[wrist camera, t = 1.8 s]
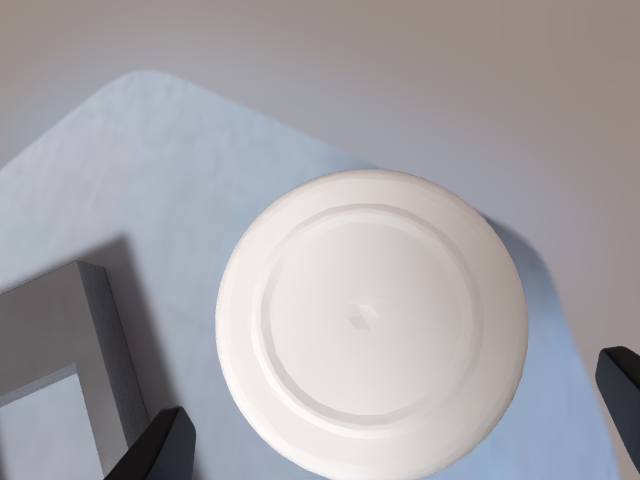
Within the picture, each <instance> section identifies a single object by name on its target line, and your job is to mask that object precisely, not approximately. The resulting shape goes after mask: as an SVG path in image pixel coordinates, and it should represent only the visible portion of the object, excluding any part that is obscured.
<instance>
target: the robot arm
mask: <svg viewBox="0 0 640 480" xmlns="http://www.w3.org/2000/svg"><path fill="white" fill-rule="evenodd" d="M595 378H596V383H597V386H598V388H599V391H600V393H601V395H602V397H603V399H604V402H605V404H606V406H607V408H608V410H609V413H610V414H611V417H612V419H613V421H614V423H615V426H616V428H617V430H618V432H619V434H620V437H621V439H622V441H623V443H624V445H625V447H626V449H627V452H628V453H629V455H630V458H631V460H632V461H633V463H634V465H635V467H636V469H637V470H638V472H639V474H640V356H639V355H638V354H636V353H635V352H633V351H631V350H630V349H628V348H626V347H623V346H617V347H610V348H604V349H602V350H601V351H600V354H599V359H598V363H597V368H596V373H595ZM195 442H196V431H195V427H194V425H193V423H192V421H191V420H190V418H189V416H188V415H187V413H186V411H185V409H184V408H183V407H181V406H172V407H166V408H164V409H162V410H161V411H160V412H159V413H158V415H157V416H156V417H155V418H154V419H153V421H152V422H151V423H150V424H149V425H148V427H147V428H146V429H145V430H144V431H143V433H142V434H141V435H140V436H139V437H138V439H137V440H136V441H135V442H134V443H133V445H132V446H131V447H130V448H129V449H128V451H127V452H126V453H125V454H124V455H123V457H122V458H121V459H120V460H119V461H118V463H117V464H116V465H115V466H114V467H113V469H112V470H111V471H110V472H109V473H108V475H107V476H106V477H105V478H104V479H103V480H192V472H193V462H194V452H195Z"/></svg>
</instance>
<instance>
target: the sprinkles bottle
mask: <svg viewBox="0 0 640 480" xmlns="http://www.w3.org/2000/svg"><path fill="white" fill-rule="evenodd" d="M215 317H216V343H217V351H218V356H219V360H220V364H221V367H222V371H223V375H224V378H225V380H226V383H227V385H228V388H229V390H230V392H231V395H232V397H233V399H234V401H235V403H236V404H237V406H238V407H239V409H240V411H241V412H242V414H243V415H244V417H245V418H246V419H247V421H248V422H249V423H250V424H251V426H252V427H253V428H254V429H255V430H256V432H257V433H258V434H259V435H260V436H261V437H262V438H263V439H264V440H265V441H266V442H267V443H268V444H269V445H270V446H271V447H272V448H273V449H275V450H276V451H277V452H279V453H280V454H281V455H283V456H284V457H286V458H287V459H289V460H291V461H292V462H294V463H296V464H297V465H299V466H301V467H302V468H304V469H306V470H309V471H311V472H314V473H316V474H319V475H321V476H324V477H327V478H330V479H332V480H417V479H420V478H423V477H425V476H428V475H430V474H433V473H435V472H437V471H440V470H442V469H444V468H447V467H448V466H450V465H452V464H453V463H455V462H457V461H458V460H460V459H462V458H463V457H465V456H466V455H467V454H469V453H470V452H471V451H472V450H473V449H474V448H475V447H476V446H477V445H478V444H479V443H480V442H482V441H483V440H484V439H485V438H486V437H487V436H488V435H489V433H490V432H491V431H492V430H493V428H494V427H495V426H496V425H497V423H498V422H499V421H500V420H501V418H502V417H503V415H504V413H505V412H506V410H507V408H508V407H509V405H510V403H511V402H512V400H513V398H514V395H515V392H516V390H517V387H518V385H519V382H520V379H521V377H522V373H523V368H524V363H525V358H526V353H527V348H528V314H527V306H526V300H525V295H524V292H523V288H522V284H521V281H520V277H519V275H518V272H517V269H516V266H515V264H514V262H513V260H512V258H511V256H510V254H509V253H508V251H507V249H506V248H505V246H504V244H503V242H502V241H501V239H500V238H499V237H498V235H497V234H496V233H495V231H494V230H493V228H492V227H491V226H490V225H489V224H488V223H487V222H486V220H485V219H484V218H483V217H482V216H481V215H479V214H478V212H477V211H476V210H475V209H474V208H472V207H471V206H470V205H469V204H467V203H466V202H465V201H463V200H462V199H460V198H459V197H458V196H457V195H455V194H454V193H452V192H450V191H449V190H447V189H445V188H443V187H441V186H439V185H437V184H435V183H433V182H430V181H428V180H426V179H424V178H420V177H417V176H413V175H410V174H407V173H403V172H398V171H392V170H385V169H354V170H346V171H340V172H335V173H331V174H327V175H324V176H321V177H318V178H315V179H312V180H310V181H308V182H306V183H304V184H302V185H299V186H297V187H295V188H293V189H291V190H290V191H288V192H287V193H285V194H284V195H282V196H281V197H279V198H277V199H276V200H275V201H274V202H272V203H271V204H270V206H269V207H267V208H266V209H265V210H264V211H263V212H262V213H261V214H260V215H259V216H258V217H257V218H256V219H255V220H254V221H253V222H252V224H251V225H250V226H249V227H248V229H247V230H246V231H245V233H244V234H243V236H242V237H241V239H240V240H239V242H238V243H237V245H236V247H235V249H234V251H233V253H232V255H231V257H230V259H229V261H228V264H227V266H226V269H225V271H224V274H223V277H222V280H221V283H220V288H219V293H218V297H217V307H216V312H215Z"/></svg>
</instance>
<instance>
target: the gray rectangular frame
mask: <svg viewBox="0 0 640 480" xmlns="http://www.w3.org/2000/svg"><path fill="white" fill-rule="evenodd" d="M75 373H78V377H79V381H80V385H81V388H82V392H83V396H84V400H85V404H86V408H87V412H88V416H89V420H90V424H91V427H92V431H93V435H94V439H95V443H96V447H97V451H98V455H99V459H100V462H101V466H102V470H103V474H104V478H105V477H106V476H107V475H108V473H109V472H110V471H111V470H112V469H113V467H114V466H115V465H116V464H117V463H118V461H119V460H120V459H121V458H122V457H123V455H124V454H125V453H126V452H127V451H128V449H129V448H130V447H131V446H132V445H133V443H134V442H135V441H136V440H137V439H138V437H139V436H140V435H141V434H142V433H143V431H144V430H145V429H146V428H147V427H148V425H149V424H150V423H149V420H148V417H147V413H146V410H145V406H144V403H143V399H142V396H141V393H140V389H139V386H138V382H137V379H136V375H135V372H134V369H133V365H132V362H131V358H130V355H129V351H128V348H127V345H126V341H125V338H124V334H123V331H122V327H121V324H120V321H119V317H118V314H117V310H116V307H115V303H114V300H113V297H112V293H111V290H110V286H109V283H108V279H107V276H106V273H105V269H104V267H100V266H96V265H92V264H89V263H85V262H81V261H77V260H76V261H74V262H72V263H70V264H67V265H65V266H63V267H61V268H59V269H57V270H55V271H52V272H50V273H48V274H46V275H44V276H42V277H39V278H37V279H35V280H33V281H31V282H29V283H26V284H24V285H22V286H20V287H18V288H16V289H13V290H11V291H9V292H7V293H5V294H3V295H0V407H2V406H4V405H6V404H8V403H11V402H13V401H15V400H17V399H19V398H22V397H24V396H26V395H28V394H31V393H33V392H35V391H37V390H39V389H42V388H44V387H46V386H48V385H51V384H53V383H55V382H57V381H59V380H62V379H64V378H66V377H68V376H71V375H73V374H75Z"/></svg>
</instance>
